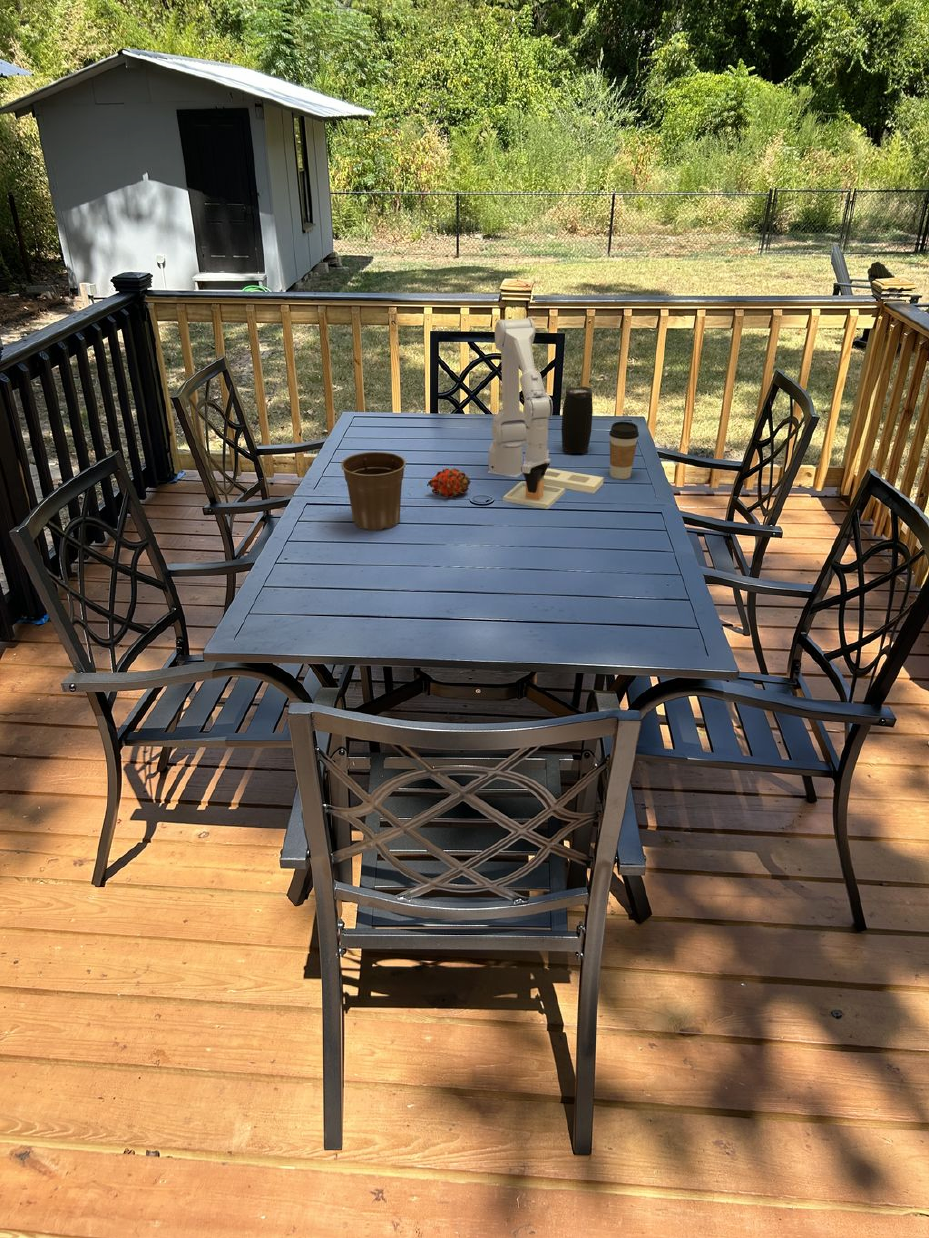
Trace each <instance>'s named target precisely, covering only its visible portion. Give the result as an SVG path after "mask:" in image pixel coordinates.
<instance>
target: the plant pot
mask: <svg viewBox="0 0 929 1238" xmlns="http://www.w3.org/2000/svg"><path fill="white" fill-rule="evenodd" d="M340 465H341V466H340V467H341V469H342V471H343V475H344V479H345V482H346V484H347V485H346V486H347V491H348V497H349V501H350V509H351V514H352V515H351V516H352V522H353V524H354V525H355V527H356V528H360V529H362V530H366V531H382V529H391V528H393V527H395V526H397V525H398V524H399V523H400V520H401V503H402V502H401V501H402V485H403V483H402V482H403V479H404V473H405V472H404V471H405V468H406V465H407V461H406V460H405V458H403V457H402V456H400V455H399V454H396V453H391V452H383V451H368V452H361V453H360V452H359V453H356V454H352V455H350V456H347V457H346V458H344V459H343V460H342V461H341V464H340Z"/></svg>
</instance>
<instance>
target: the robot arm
mask: <svg viewBox="0 0 929 1238" xmlns="http://www.w3.org/2000/svg"><path fill="white" fill-rule="evenodd" d="M535 336H536V325H535V322H534V320H533V318H531V317H527V318H515V319H514V318H513V319H510V318H509V319H498V320H497V322H496V323H495V326H494V345H495V349H496V350H499V351H500V354H501V355H500V357H501V388H502V389H501V393H502V394H501V395H502V396H501V397H502V400H501V401H502V409H501V410H500V411H498V412H497V413H496V414H495V415H494V416H493V420H492V427H491V432H492V433H491V434H492V439H493V441H492V442H491V444H490V446H489V450H488V471H487V473H488V474H489V473H490V474H495V475H500V476H501V475H502V476H506V477H512V478H519V477H520V475H523V477H524V479H525V482H526V484H527V488H528V492H532V493H536V491H537V486H538V481H539V477H540V475H545V473H546V470H547V468H549V467H550V465H551V464H550V463H551V461H552V460H551V458H549V457H550V455H549V454H550V449H548V434H549V433H548V432H549V419H551V418H552V416H553V408H554V406H553V401H552V398H551V397H550V395H549V393H548V392H547V391H546V390H545V387H544V383H543V378H542V375H541V373H540V371H538V370H536V366H535V360H534V354H533V347H532V346H533V343H534V341H535ZM520 371H521V375H520ZM520 387H521V391H522V395H523V399H524V403H523V411H522V410H521V409H520ZM524 445H525V456H524V458H523V453H524ZM523 459H524V461H523Z"/></svg>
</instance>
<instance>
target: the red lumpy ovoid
mask: <svg viewBox="0 0 929 1238" xmlns="http://www.w3.org/2000/svg"><path fill="white" fill-rule="evenodd" d="M436 473H437V474H436V475H435V476H434V477H432V479H431V480H429V481H428V482H427V484H426V486H427V487H430V488H432V489H431V492H432V493H433V494H435V495H440V496H442V497H444V496H446V498H447V499H451V498H452V497H457V496H458V497H459V496H460V494H465V493H466V492H468V490H469V487H470V483H471V480H470V478H469V476H467V475H466V474H465V472H462V471H460V470H459V469H458V468H456V467H453V468H452V469H449V468H443V469H442V471H437V472H436Z"/></svg>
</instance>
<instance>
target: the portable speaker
mask: <svg viewBox="0 0 929 1238" xmlns="http://www.w3.org/2000/svg"><path fill="white" fill-rule="evenodd" d="M593 408H594V407H593V391H592V388H591V387H587V386H579V387H578V386H577V387H571V386H568V387H566V389H565V396H564V401H563V406H562V412H561V413H562V416H561V444H562V445H561V447H562V452H563V453H564V454H566V455H569V456H570V455H572V454H573V453H574V454H575V453H577V454H579V453H580V454H581V456H582V455H584V456H585V455H586V454H587V453H588V449H589V445H590V441H591V435H592V434H591V433H592V426H593V425H592V424H593V412H594V411H593Z"/></svg>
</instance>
